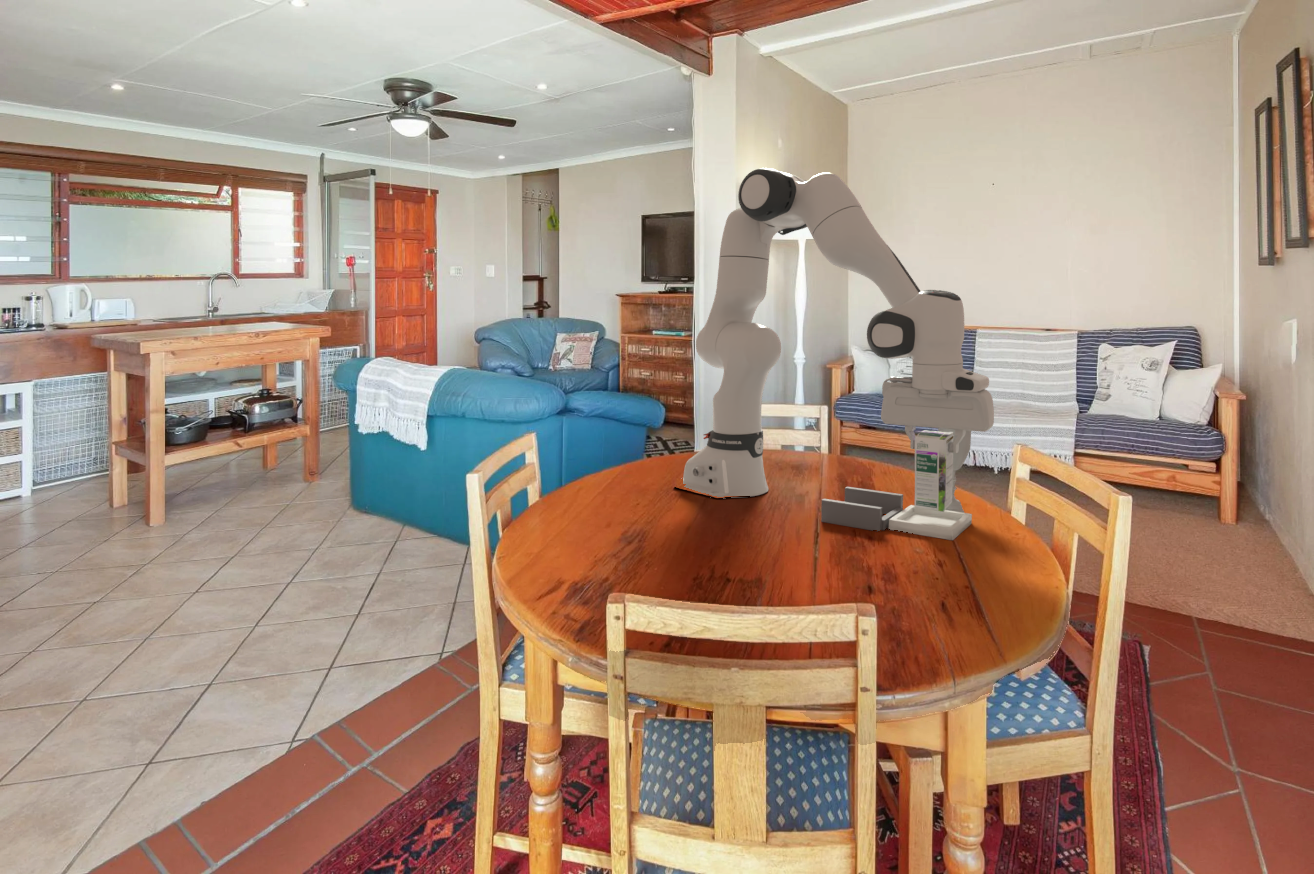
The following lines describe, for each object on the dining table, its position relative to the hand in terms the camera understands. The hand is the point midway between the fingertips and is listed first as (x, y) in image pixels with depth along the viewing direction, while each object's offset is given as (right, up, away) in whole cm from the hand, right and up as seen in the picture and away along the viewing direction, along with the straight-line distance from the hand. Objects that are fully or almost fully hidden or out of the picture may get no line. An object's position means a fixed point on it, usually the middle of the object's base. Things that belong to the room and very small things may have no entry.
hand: (934, 450), depth 145 cm
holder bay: (-12, -14, +9) cm, 20 cm away
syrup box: (+1, -11, +3) cm, 11 cm away
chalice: (+8, -13, +12) cm, 20 cm away
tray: (0, -15, +3) cm, 15 cm away
